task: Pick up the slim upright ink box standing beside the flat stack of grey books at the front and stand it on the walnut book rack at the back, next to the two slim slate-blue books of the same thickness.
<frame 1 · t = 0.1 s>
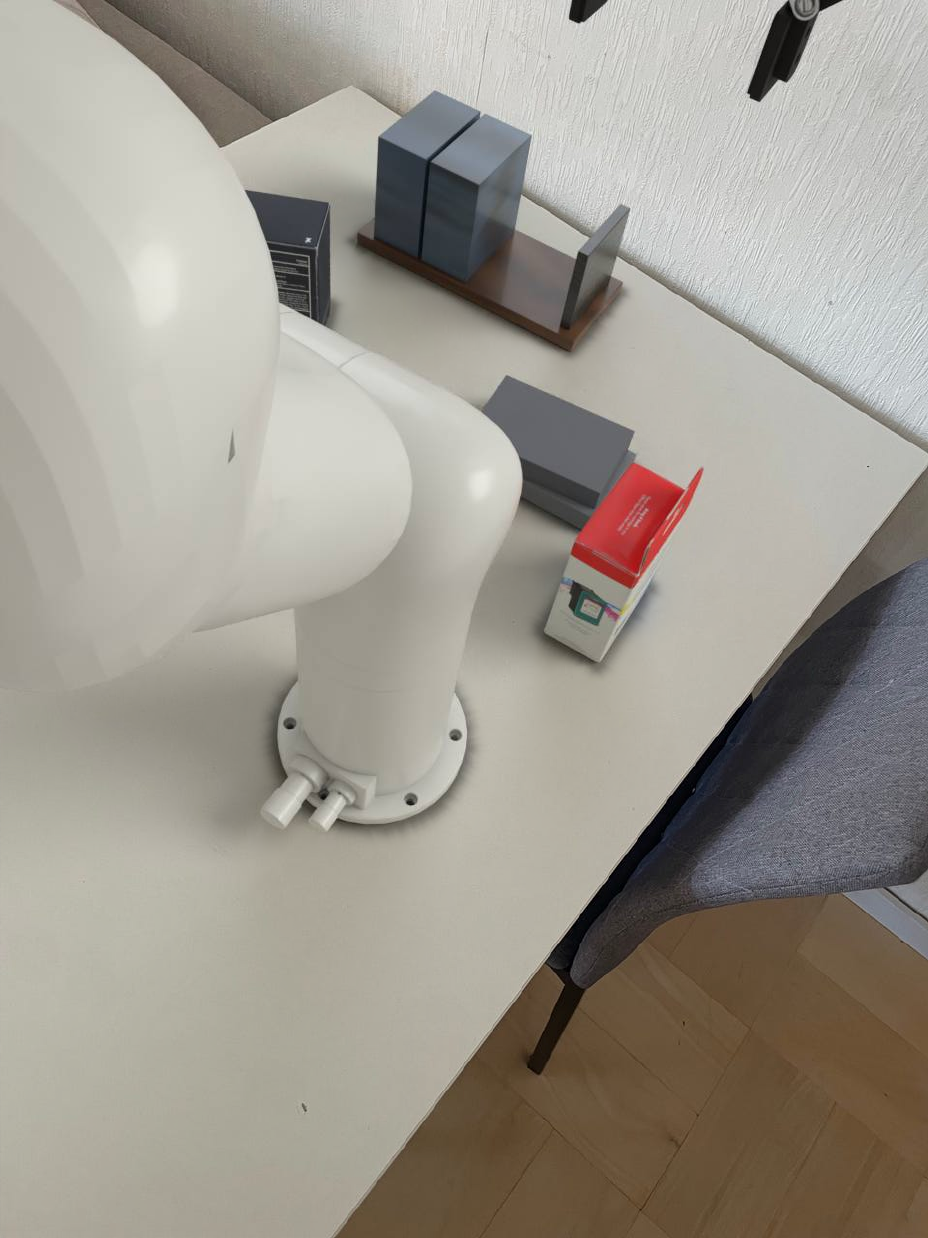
hand: (674, 48, 50), 37 cm above the table, tool pointing down, fingers open, 9 cm apart
book rack: (488, 267, 95), on the table
ink box: (595, 612, 77), on the table
small box: (266, 318, 89), on the table
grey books: (544, 466, 83), on the table
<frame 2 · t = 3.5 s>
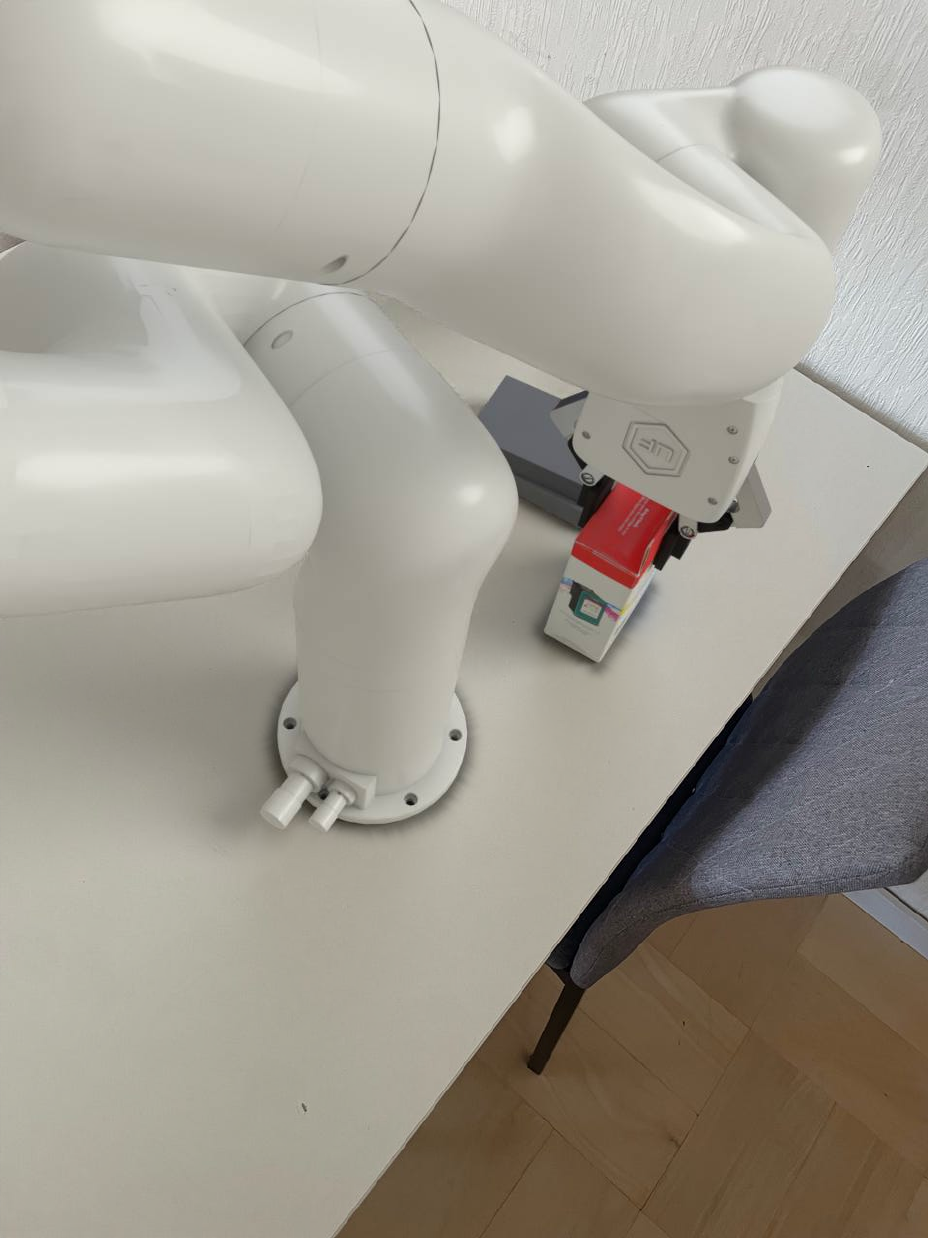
hand: (629, 532, 68), 10 cm above the table, tool pointing down, fingers closed on ink box, 5 cm apart
ink box: (595, 612, 77), on the table, touching gripper
everything else where it was.
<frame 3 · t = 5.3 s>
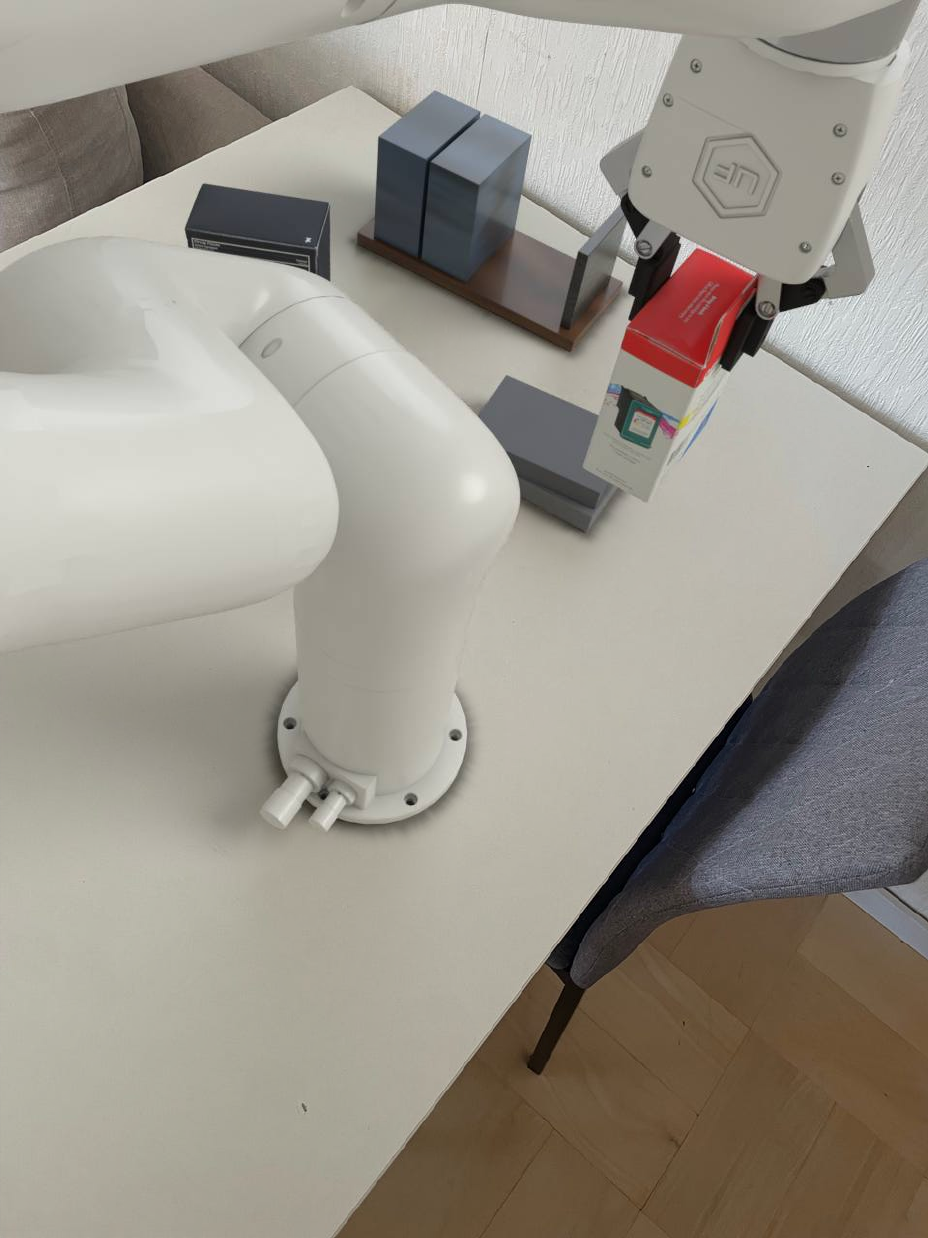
hand: (690, 329, 56), 25 cm above the table, tool pointing down, fingers closed on ink box, 5 cm apart
ink box: (644, 449, 65), point 15 cm above the table, touching gripper
everything else where it was.
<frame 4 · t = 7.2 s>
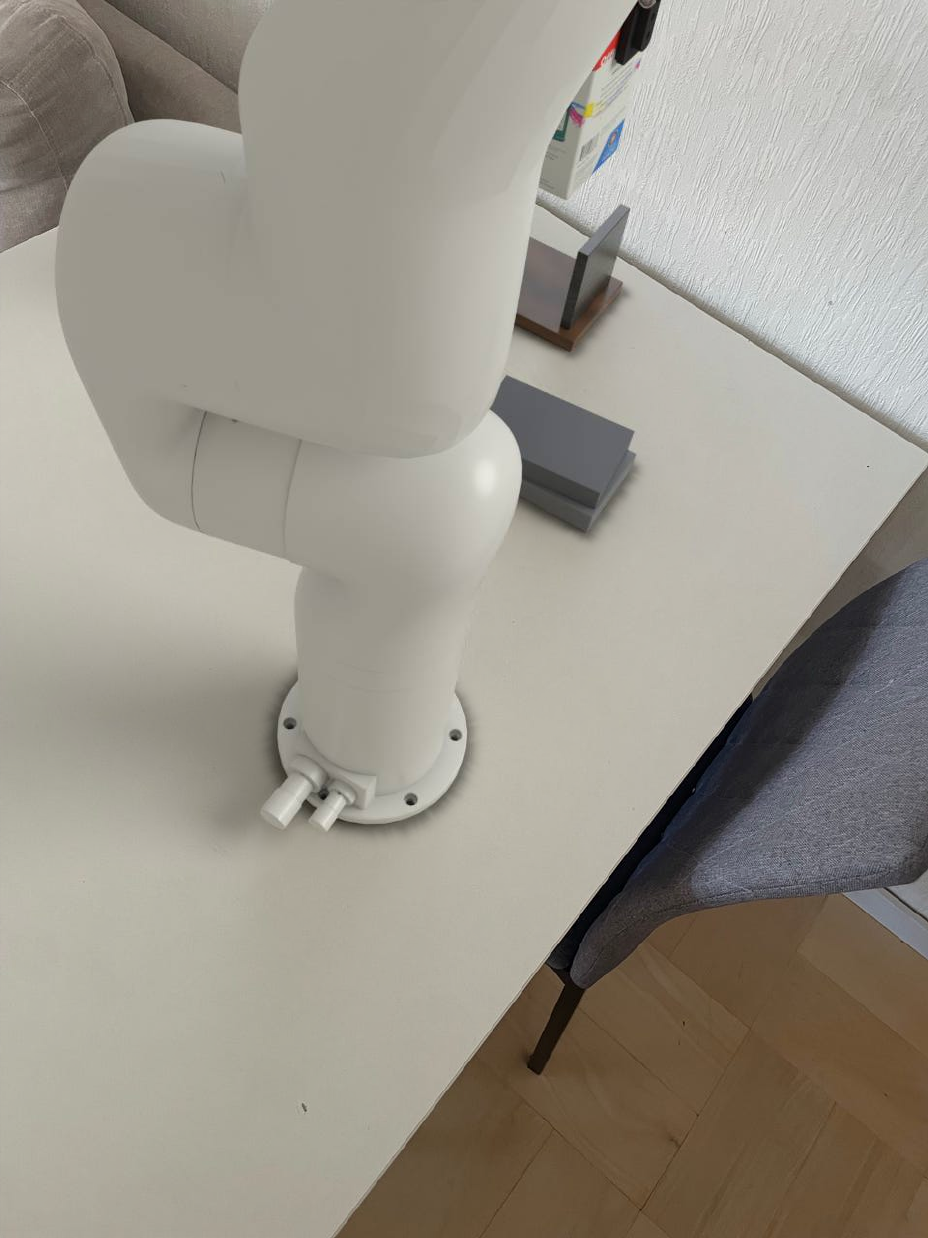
hand: (593, 36, 70), 26 cm above the table, tool pointing down, fingers closed on ink box, 5 cm apart
ink box: (565, 166, 79), point 16 cm above the table, touching gripper
everything else where it was.
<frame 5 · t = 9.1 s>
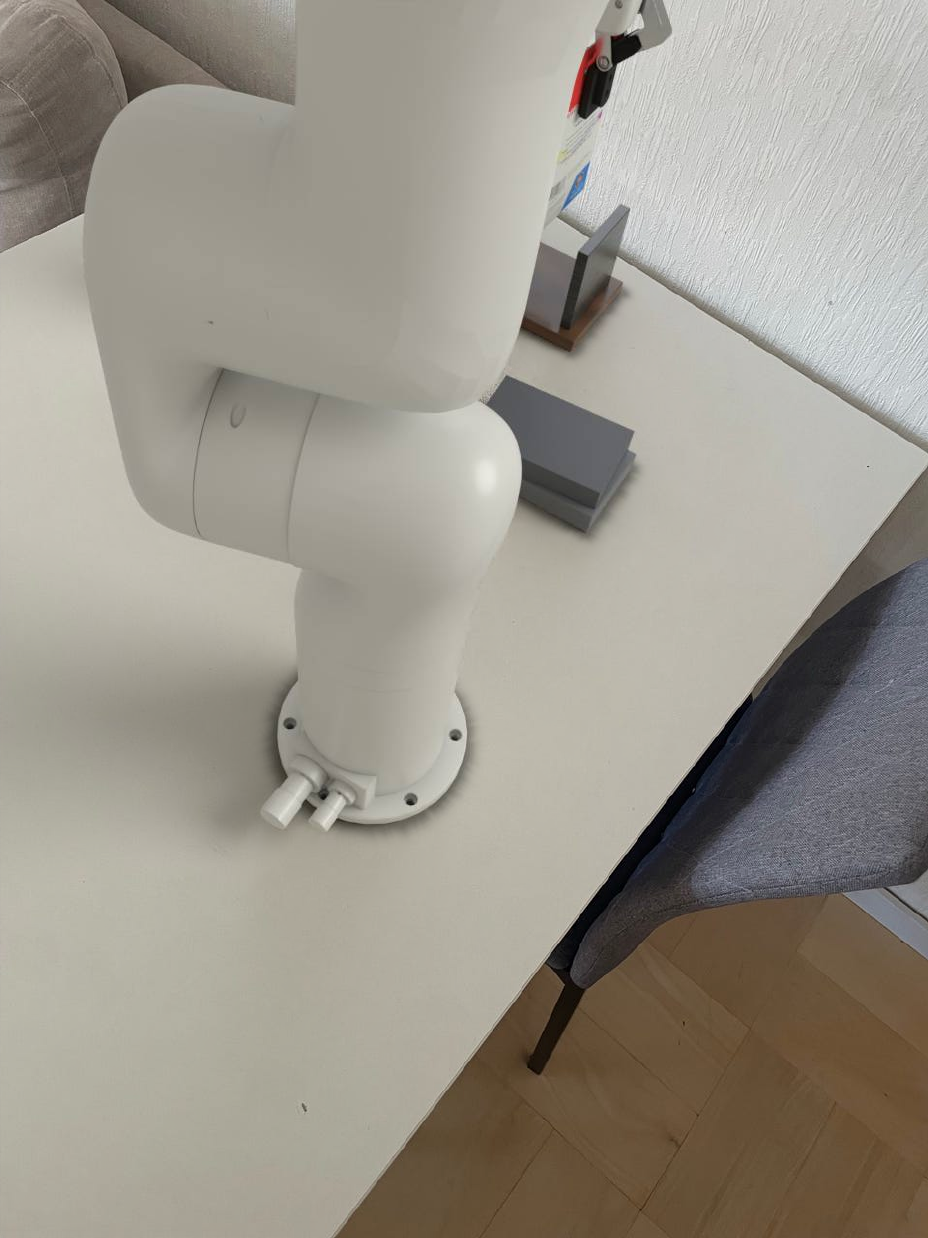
hand: (558, 93, 79), 18 cm above the table, tool pointing down, fingers closed on ink box, 5 cm apart
ink box: (536, 204, 88), point 8 cm above the table, touching gripper
everything else where it was.
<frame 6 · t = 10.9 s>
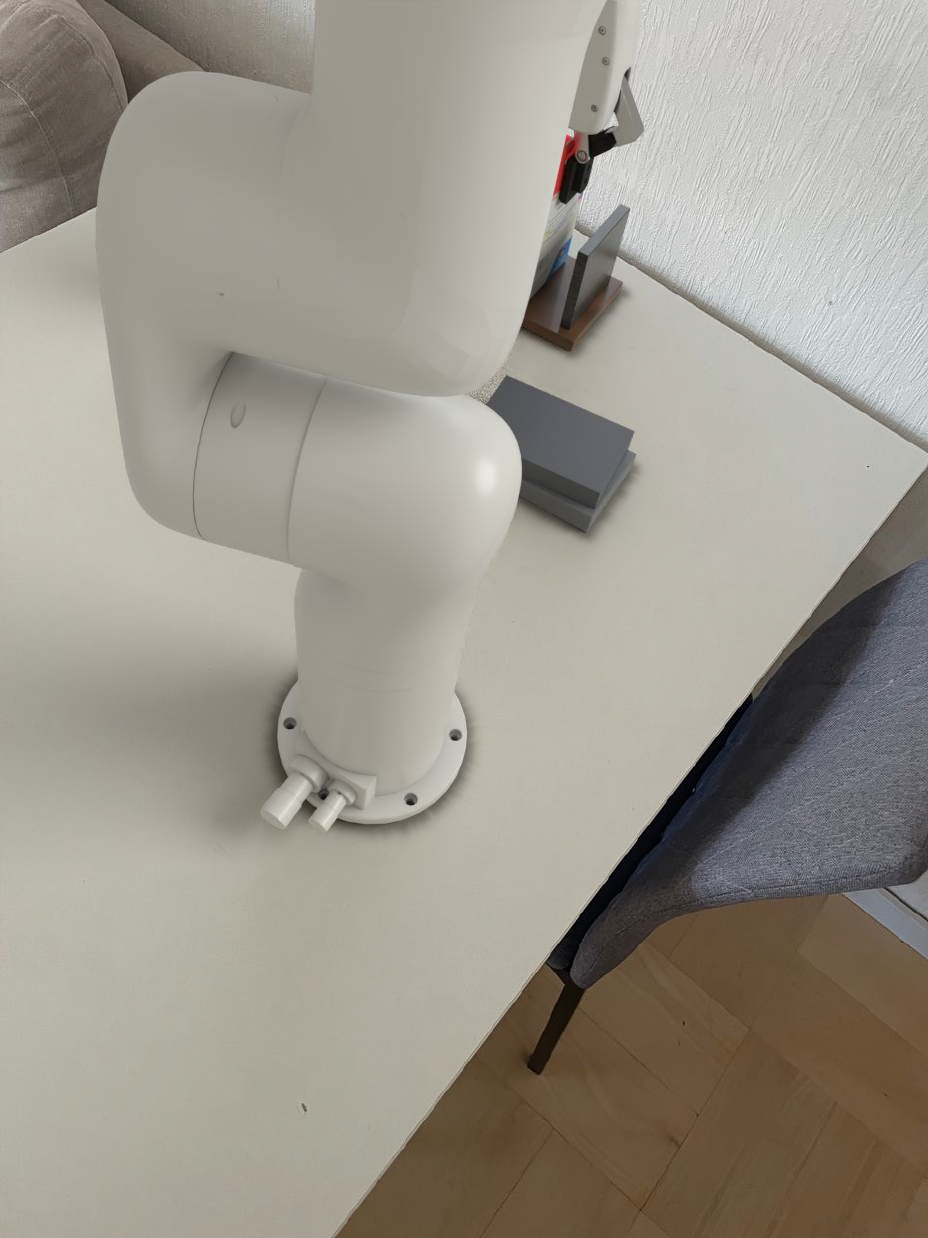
hand: (541, 179, 85), 11 cm above the table, tool pointing down, fingers closed on ink box, 4 cm apart
ink box: (522, 275, 94), point 1 cm above the table, touching book rack, gripper
everything else where it was.
when the fingers open (11 cm above the table, at t = 11.2 s): ink box stays where it is, resting on book rack.
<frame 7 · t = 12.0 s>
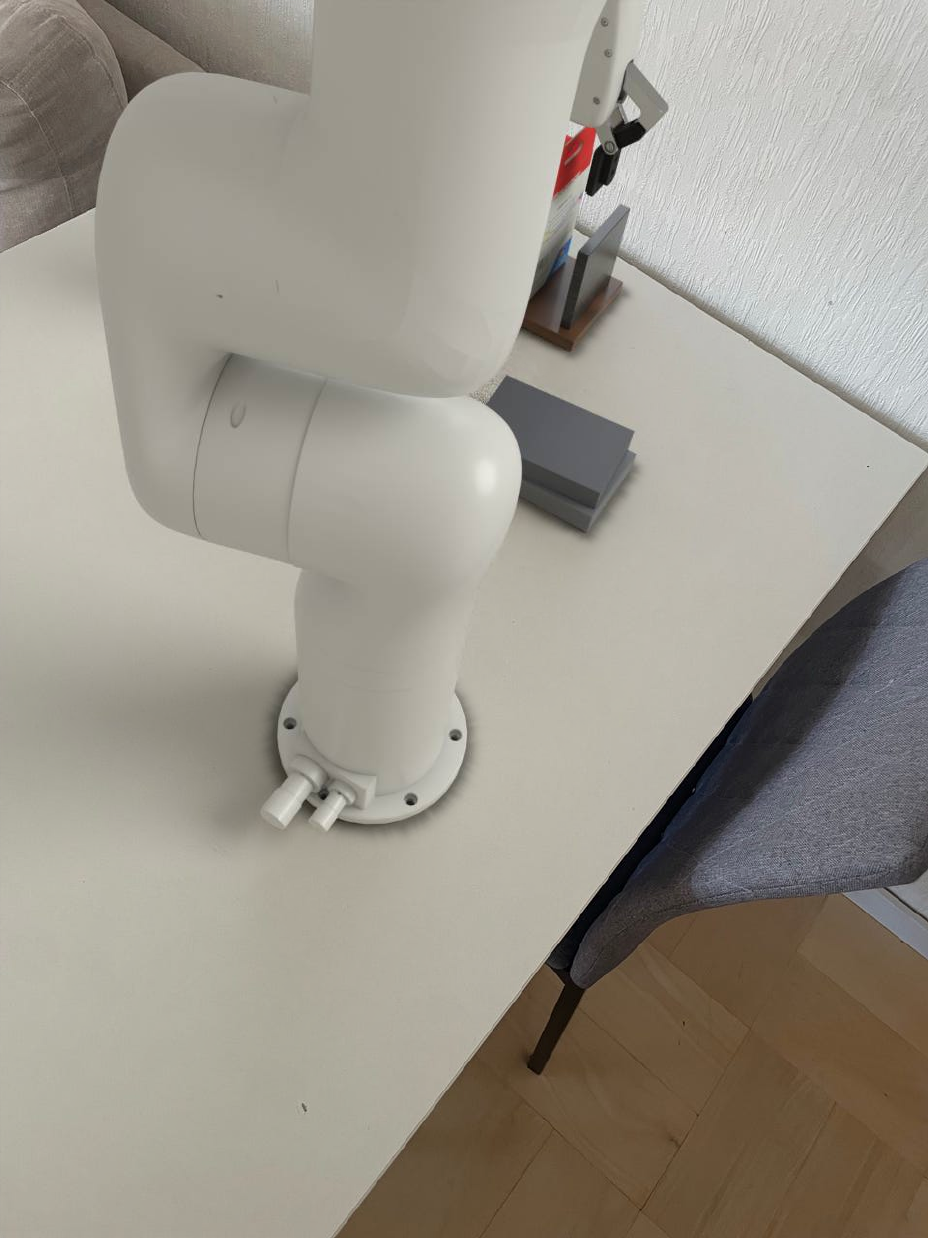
hand: (545, 163, 84), 12 cm above the table, tool pointing down, fingers open, 9 cm apart
ink box: (522, 275, 94), point 1 cm above the table, touching book rack
everything else where it was.
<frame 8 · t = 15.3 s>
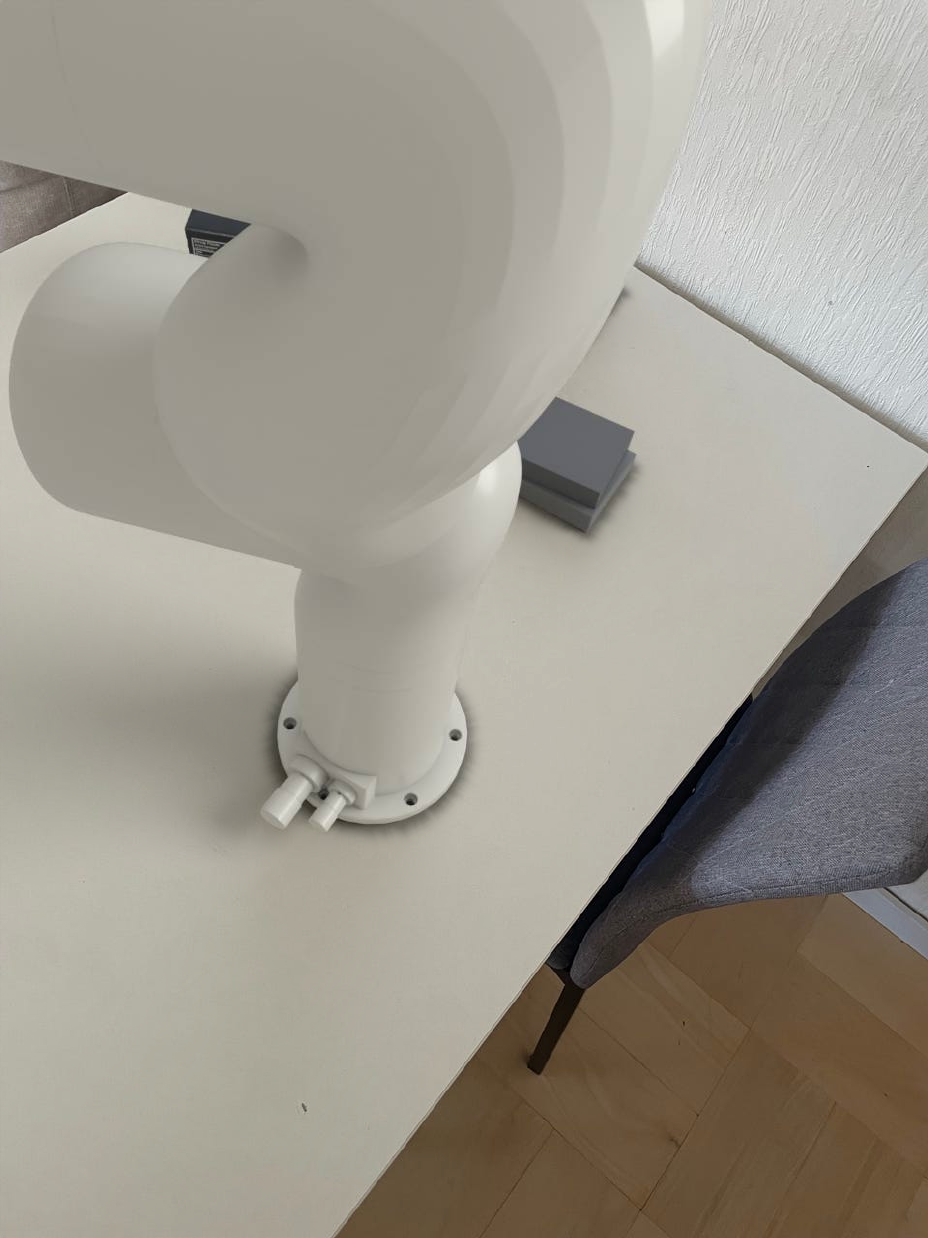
hand: (535, 48, 60), 30 cm above the table, tool pointing down, fingers open, 9 cm apart
nothing on the table moved.
at the end: ink box 0.1 cm from the target spot on the book rack, point 1.0 cm above the book rack's base; ink box tilted 0°; the gripper is holding nothing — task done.
